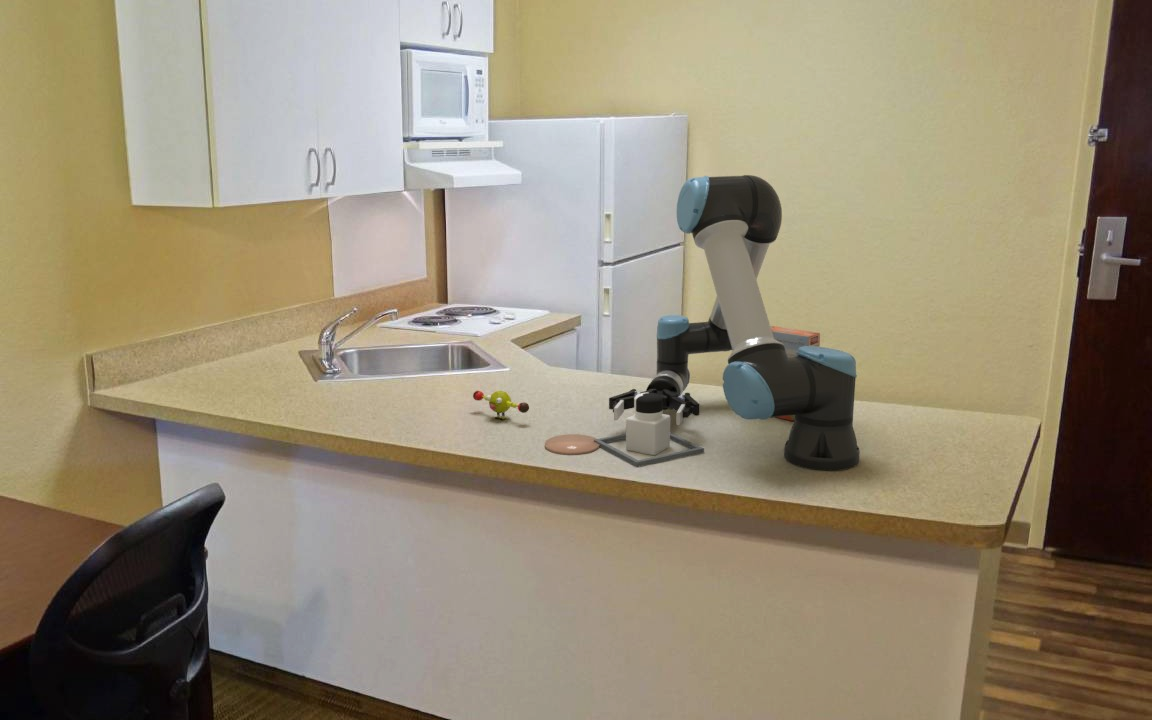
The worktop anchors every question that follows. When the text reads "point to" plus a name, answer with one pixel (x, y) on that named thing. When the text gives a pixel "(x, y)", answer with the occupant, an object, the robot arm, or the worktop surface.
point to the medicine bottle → (648, 425)
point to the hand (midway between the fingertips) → (646, 416)
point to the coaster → (571, 444)
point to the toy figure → (500, 402)
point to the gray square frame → (692, 450)
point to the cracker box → (794, 344)
